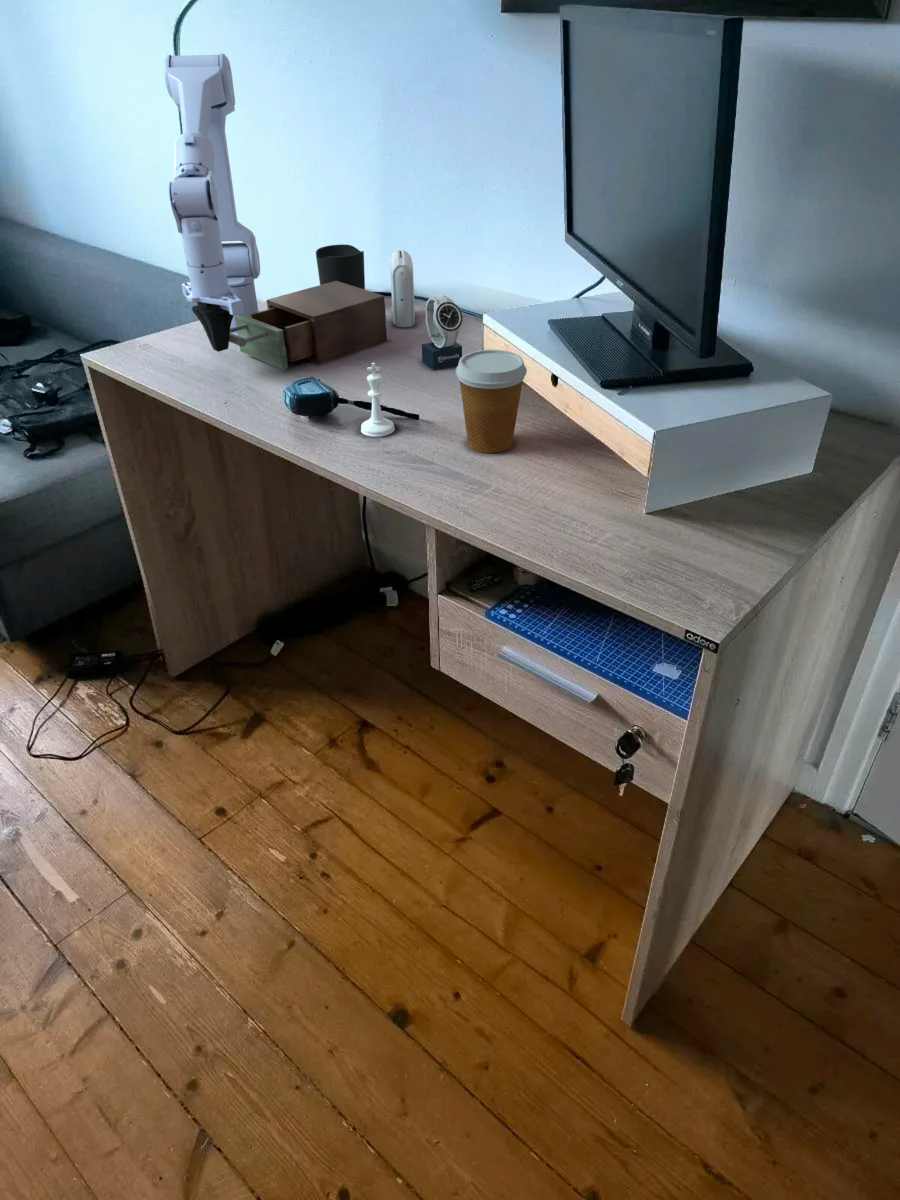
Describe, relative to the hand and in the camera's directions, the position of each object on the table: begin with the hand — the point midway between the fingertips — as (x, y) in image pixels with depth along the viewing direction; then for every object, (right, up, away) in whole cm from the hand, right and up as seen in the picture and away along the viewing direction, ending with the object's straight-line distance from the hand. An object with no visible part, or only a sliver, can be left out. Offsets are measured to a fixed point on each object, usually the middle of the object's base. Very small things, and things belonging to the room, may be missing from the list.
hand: (221, 349), depth 139 cm
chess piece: (+27, -16, -15) cm, 35 cm away
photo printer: (+28, +13, +25) cm, 40 cm away
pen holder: (+16, +20, +35) cm, 43 cm away
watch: (+36, -1, +6) cm, 37 cm away
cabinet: (+16, +6, +15) cm, 22 cm away
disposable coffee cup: (+43, -19, -19) cm, 51 cm away
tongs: (+9, +3, +9) cm, 13 cm away
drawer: (+8, +2, +9) cm, 12 cm away
